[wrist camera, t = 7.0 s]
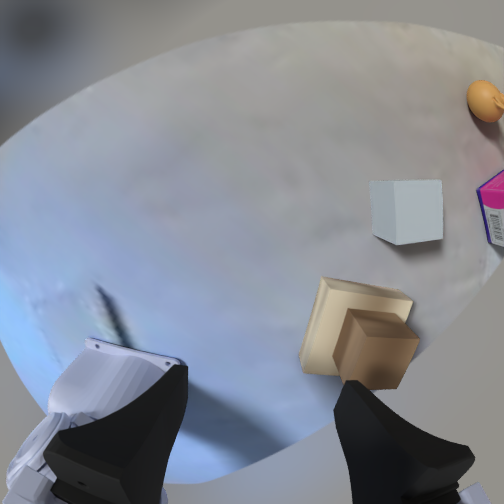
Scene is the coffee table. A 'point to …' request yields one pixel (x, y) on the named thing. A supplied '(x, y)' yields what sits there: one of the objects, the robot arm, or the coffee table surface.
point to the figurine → (485, 101)
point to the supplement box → (493, 208)
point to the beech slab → (342, 318)
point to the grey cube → (407, 210)
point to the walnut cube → (374, 349)
